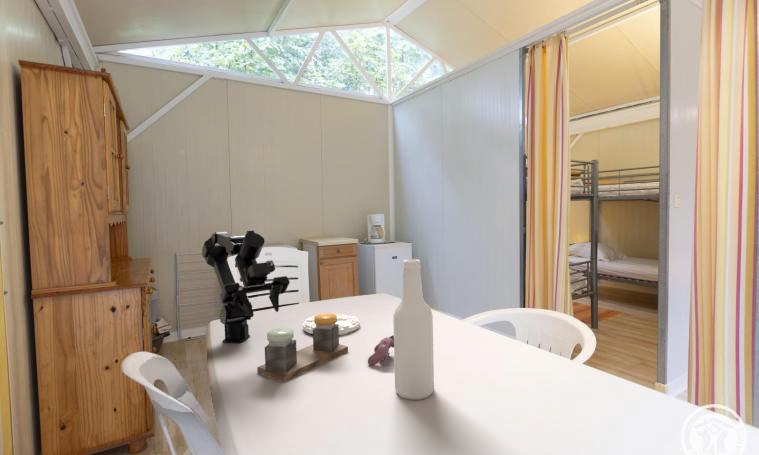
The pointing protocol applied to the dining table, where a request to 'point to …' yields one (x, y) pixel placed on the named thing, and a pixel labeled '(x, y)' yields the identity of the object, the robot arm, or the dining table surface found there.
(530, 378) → the dining table surface
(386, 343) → the video game controller
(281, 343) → the pale green rounded piece
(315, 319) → the orange button
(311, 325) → the giant coin
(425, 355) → the alcohol
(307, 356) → the button board
